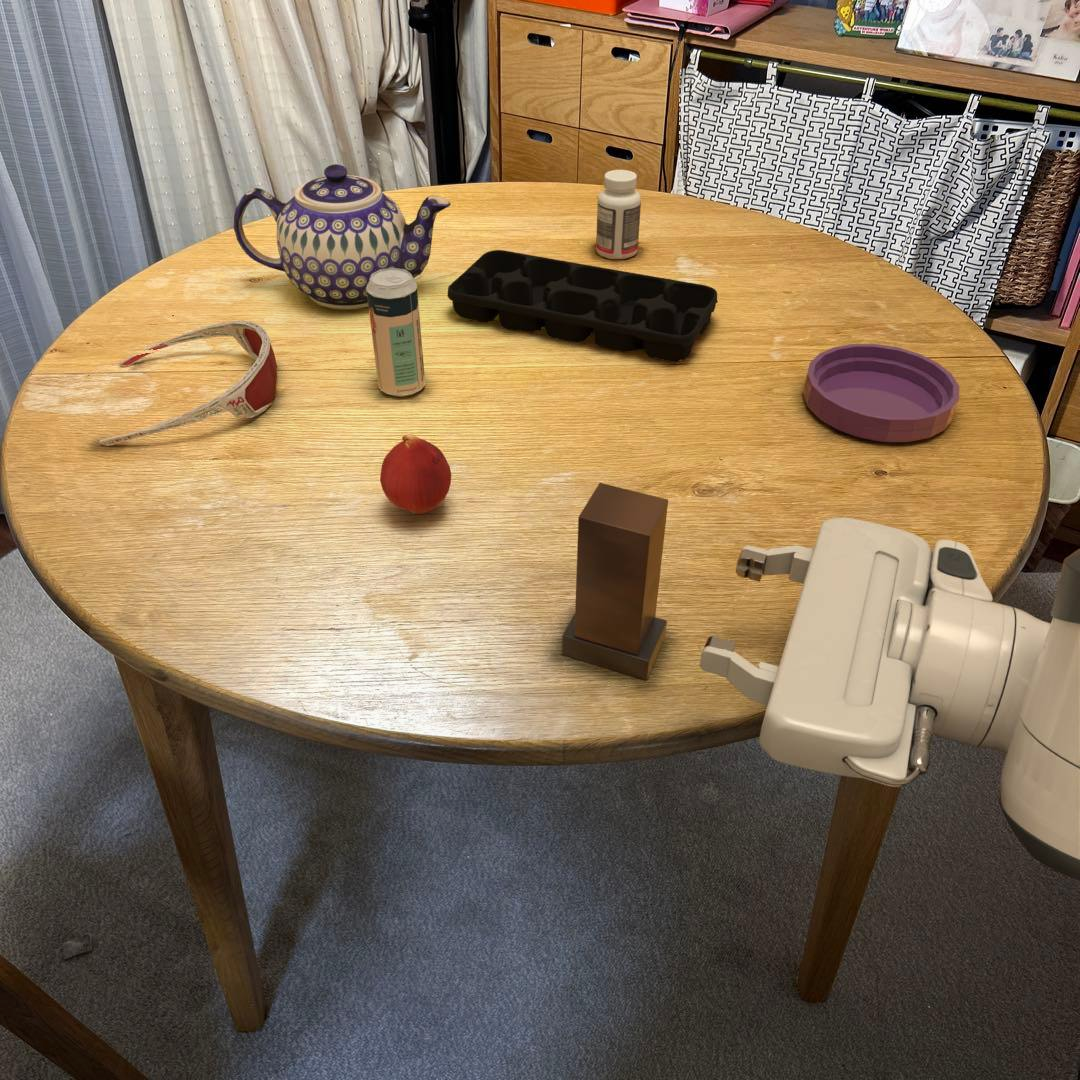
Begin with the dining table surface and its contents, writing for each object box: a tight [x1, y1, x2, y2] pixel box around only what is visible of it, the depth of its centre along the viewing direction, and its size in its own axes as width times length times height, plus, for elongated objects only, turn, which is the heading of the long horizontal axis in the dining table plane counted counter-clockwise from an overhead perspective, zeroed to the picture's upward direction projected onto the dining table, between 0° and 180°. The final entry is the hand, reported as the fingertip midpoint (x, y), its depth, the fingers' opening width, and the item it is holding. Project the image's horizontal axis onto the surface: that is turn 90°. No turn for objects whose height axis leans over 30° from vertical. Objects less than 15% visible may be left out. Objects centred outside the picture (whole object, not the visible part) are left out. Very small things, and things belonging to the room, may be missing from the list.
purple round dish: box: [802, 343, 960, 443], centre depth 94 cm, size 14×14×3 cm
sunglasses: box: [98, 320, 278, 447], centre depth 96 cm, size 17×17×5 cm
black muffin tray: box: [447, 249, 719, 363], centre depth 108 cm, size 18×30×4 cm, turn 79°
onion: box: [379, 433, 452, 515], centre depth 80 cm, size 6×6×8 cm
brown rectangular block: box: [561, 482, 669, 681], centre depth 66 cm, size 6×4×13 cm
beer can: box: [366, 268, 426, 398], centre depth 94 cm, size 5×5×12 cm
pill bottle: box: [595, 169, 642, 260], centre depth 120 cm, size 5×5×10 cm
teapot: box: [233, 163, 452, 311], centre depth 110 cm, size 25×15×15 cm, turn 85°
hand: (721, 603), depth 63 cm, fingers open, 8 cm apart
